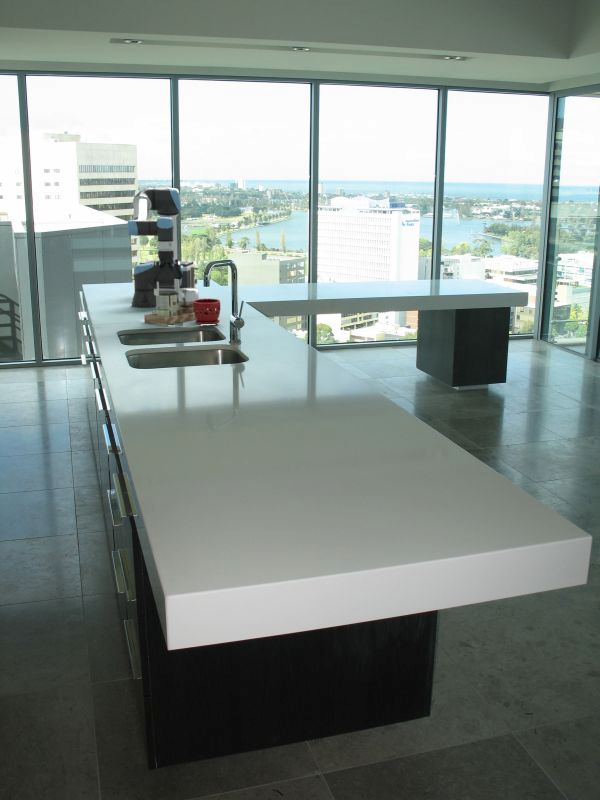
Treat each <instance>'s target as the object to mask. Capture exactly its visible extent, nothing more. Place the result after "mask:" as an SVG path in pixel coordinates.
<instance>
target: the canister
mask: <svg viewBox="0 0 600 800" xmlns="http://www.w3.org/2000/svg"><path fill="white" fill-rule="evenodd" d="M198 299H199V288H197V287H196V288H181V289H180V293H178V300H177V307H178V309H179V312H180V313H186V314H191V313H194V308H193V301H195V300H198Z"/></svg>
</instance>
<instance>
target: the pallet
mask: <svg viewBox="0 0 600 800" xmlns="http://www.w3.org/2000/svg"><path fill="white" fill-rule="evenodd" d="M143 315H144V316H143V317H144V323H145V324H150V325H158V326H163V325H165V326H164V327H169V326H168V325H171V326H175V325H174V324H177V323H182V322H189V321H196V320H197V319H196V317H195V314H194V313H191V314H186V313H180V312H179V308H177V316H172V317H162V316H157V313H146V314H143Z"/></svg>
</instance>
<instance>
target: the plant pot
mask: <svg viewBox="0 0 600 800" xmlns="http://www.w3.org/2000/svg"><path fill="white" fill-rule="evenodd" d="M193 308H194V314H195V317H196V320H195V324H198V325H200V324H217V323H218V324H219V323H220V319H219V317H220V314H221V300H220V299H219V298H218V299H217V298H198V300H195V301H193ZM218 324H217V325H218Z"/></svg>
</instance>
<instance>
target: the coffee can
mask: <svg viewBox="0 0 600 800" xmlns="http://www.w3.org/2000/svg"><path fill="white" fill-rule="evenodd" d="M155 308H156V311H157V316H162V317H172V316H177V309H178V300H177V292H176V291H159V296H156V307H155Z"/></svg>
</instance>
